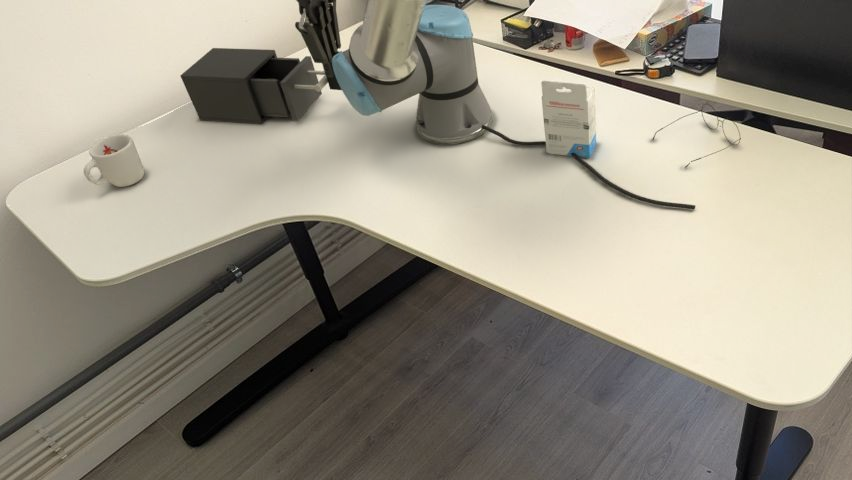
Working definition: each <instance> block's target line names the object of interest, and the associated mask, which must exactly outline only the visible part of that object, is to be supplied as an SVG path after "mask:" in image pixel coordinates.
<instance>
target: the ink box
mask: <svg viewBox="0 0 852 480" xmlns="http://www.w3.org/2000/svg"><path fill="white" fill-rule="evenodd" d="M595 89H596V88H595V87H590V86H589V87H588V86H587V85H586V84H583V83H574V82H565V81H564V82H563V81H550V80H542V81H541V93H542V94H541V107H542V117H543V128H544V138H545V140H544V141H546V145H545V151H546V153H547V154H551V155H562V156H568V157H573V156H572V155H571V153H576V154H577V155H578V156H579V157H580V158H585V159H589V158H591V157H592V154H593V152H594V150H595V147H596V146H597V121H596V120H597V117H596V90H595Z"/></svg>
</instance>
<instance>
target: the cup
mask: <svg viewBox="0 0 852 480" xmlns="http://www.w3.org/2000/svg"><path fill="white" fill-rule="evenodd" d="M88 152H89V156H90V157H91V159H90V160H89V161H88V162H87V163H85V165H84V167H83V174H84V177H85V178H86V180H87V181H88V182H89V183H91V184H92V185H96V186H100V185H103V184H105V183H107V182H110V184H112V185H113V186H116V187H120V188H124V187H129V186H131V185H134V184H136V183H138V182H139V181H140V180H142V178H143V177H144V175H145V169H144V165H143V162H142V159H141V157H140V154H139V152H138V149H137V146H136V144H135V142H134V139H133V137H132V136H131V135H129V134H125V133H118V134H112V135H108V136H106V137H102V138H100V139H98V141H96V142H94V143H93V144H92V145H91V147H90V148H89V151H88ZM94 168H97V169H98V171H99V172H100V177H99V178H98V179H94V178H93V176H92V175H91V170H92V169H94Z"/></svg>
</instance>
